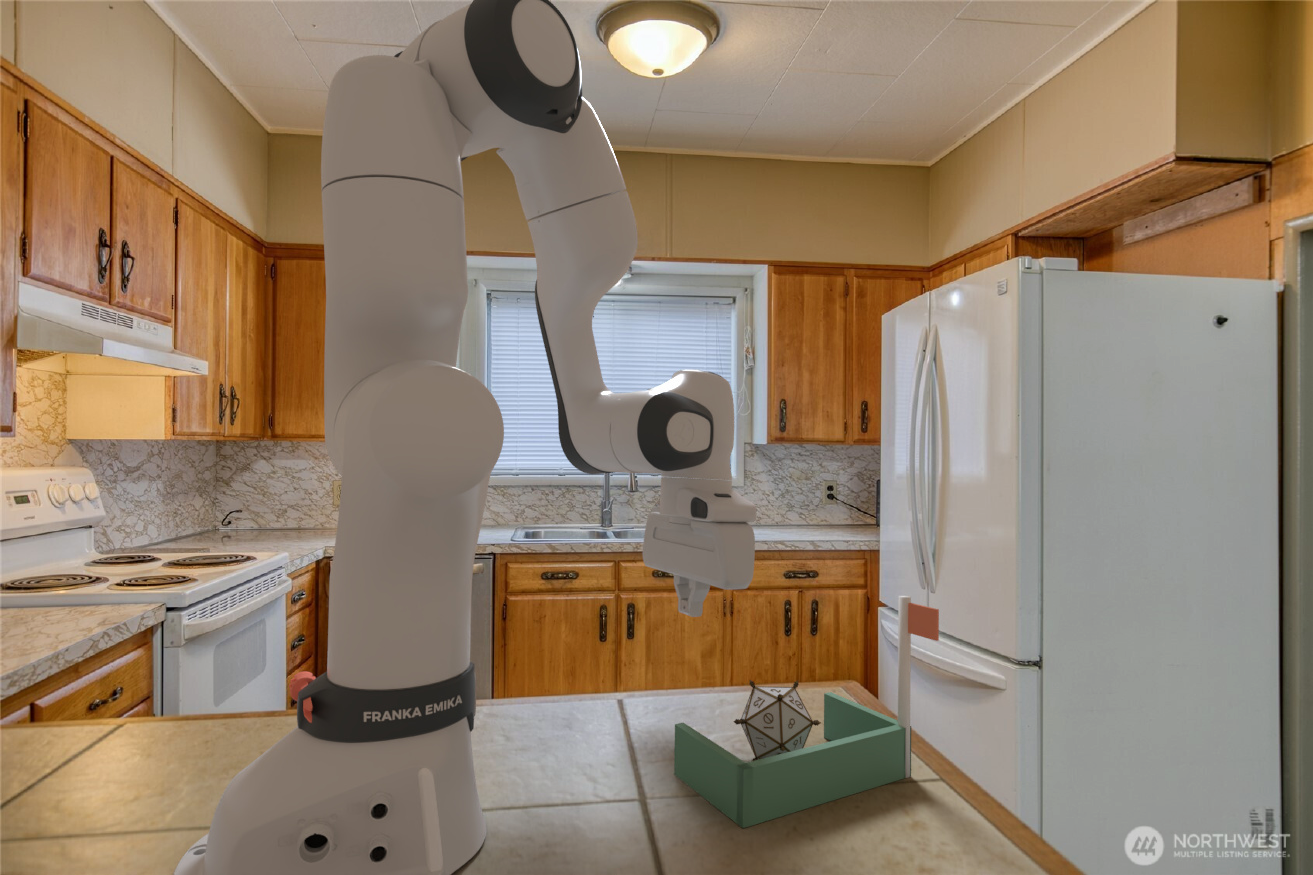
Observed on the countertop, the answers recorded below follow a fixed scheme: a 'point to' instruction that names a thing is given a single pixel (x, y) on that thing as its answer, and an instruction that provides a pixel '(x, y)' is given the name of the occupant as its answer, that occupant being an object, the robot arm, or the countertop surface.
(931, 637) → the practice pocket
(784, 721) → the game die
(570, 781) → the countertop surface
